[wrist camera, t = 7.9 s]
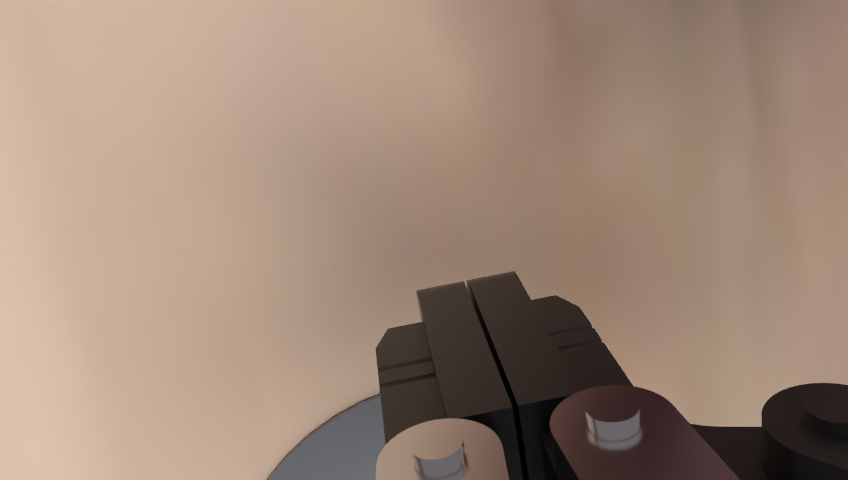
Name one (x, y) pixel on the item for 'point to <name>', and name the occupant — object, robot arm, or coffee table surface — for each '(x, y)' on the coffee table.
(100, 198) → the coffee table surface
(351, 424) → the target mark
